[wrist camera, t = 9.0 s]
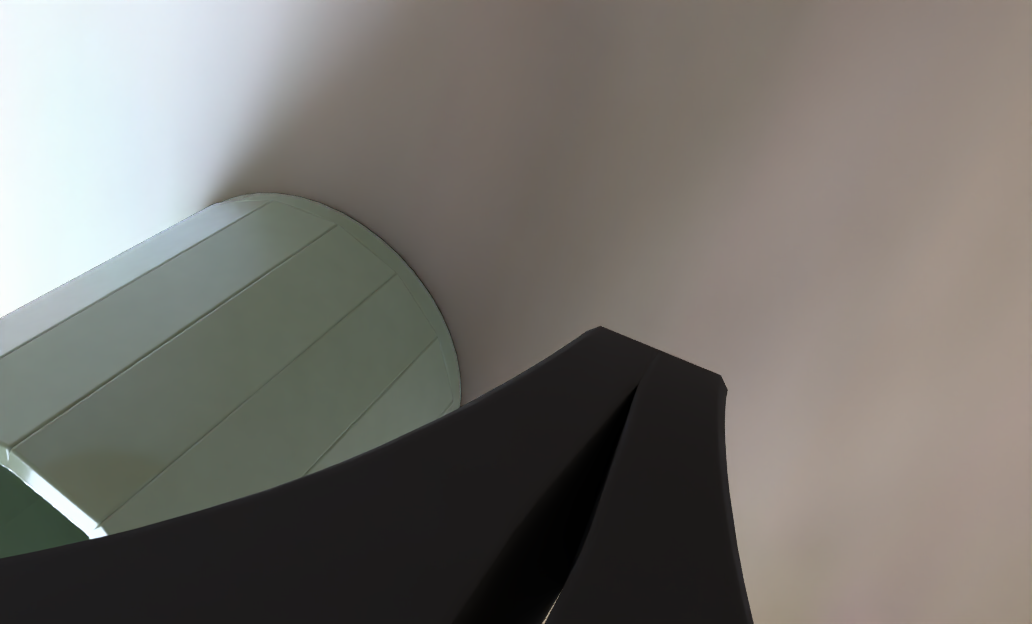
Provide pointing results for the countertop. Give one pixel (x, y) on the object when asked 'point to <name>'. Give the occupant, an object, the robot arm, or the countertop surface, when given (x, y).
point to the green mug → (211, 370)
